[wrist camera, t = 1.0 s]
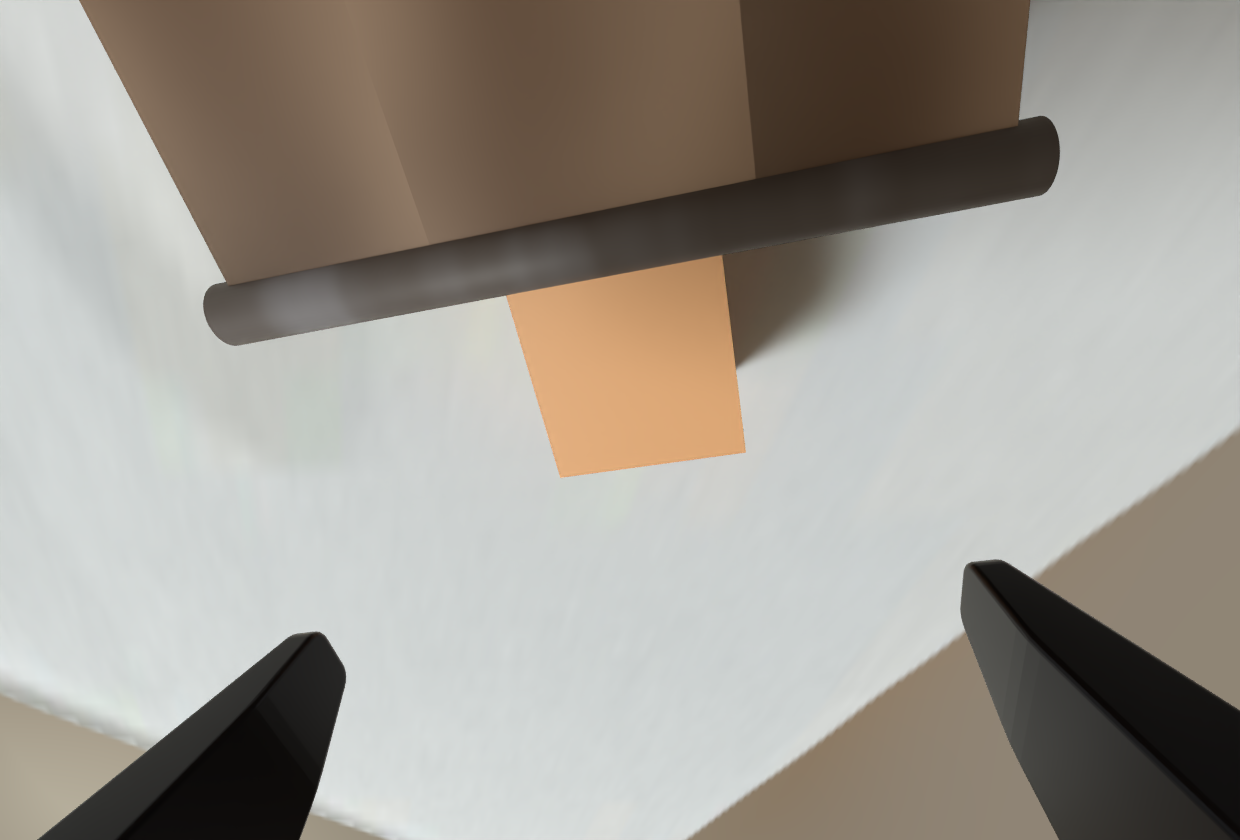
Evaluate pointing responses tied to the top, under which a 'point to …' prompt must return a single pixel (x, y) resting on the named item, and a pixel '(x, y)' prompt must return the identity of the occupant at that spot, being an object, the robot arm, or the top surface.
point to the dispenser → (556, 136)
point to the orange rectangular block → (633, 367)
